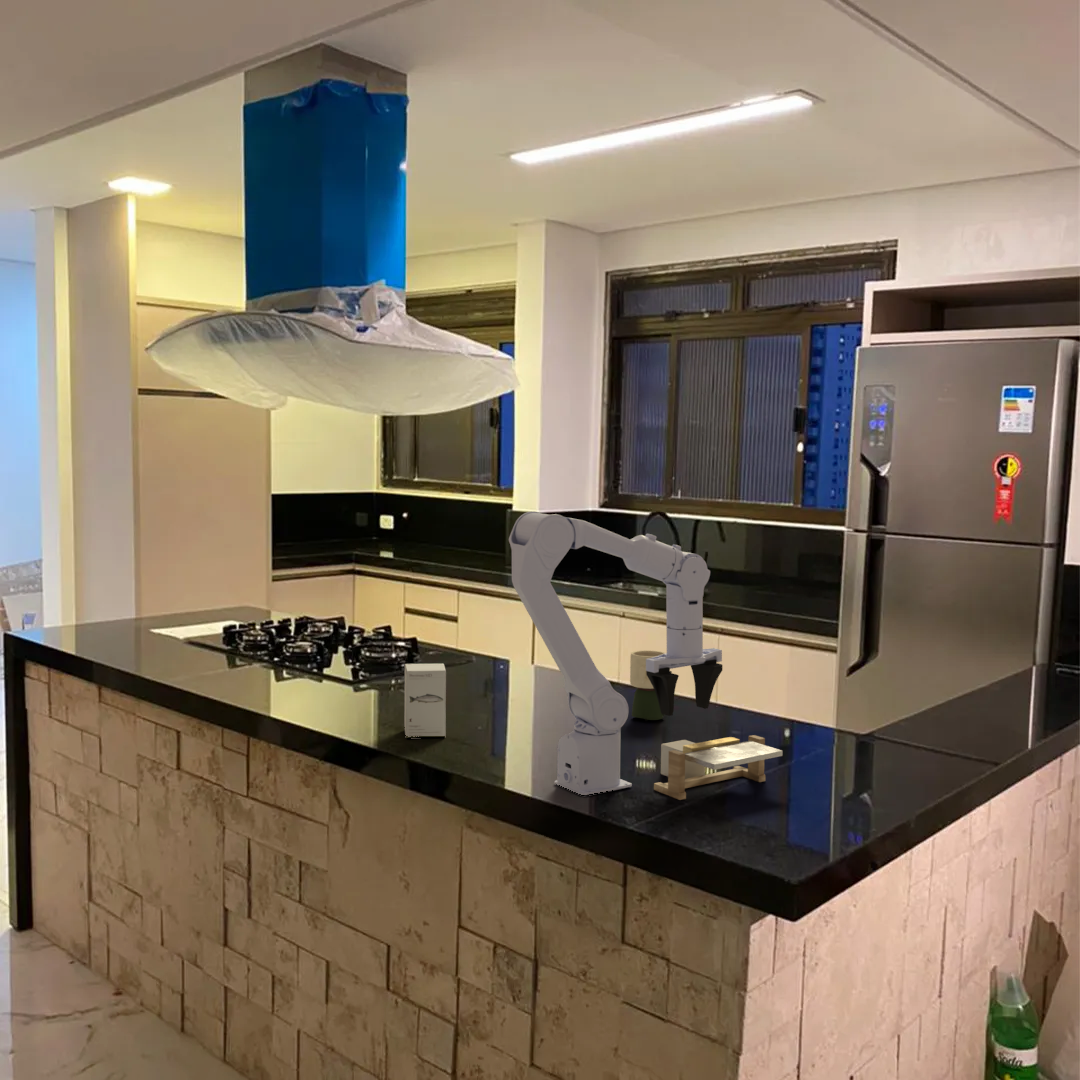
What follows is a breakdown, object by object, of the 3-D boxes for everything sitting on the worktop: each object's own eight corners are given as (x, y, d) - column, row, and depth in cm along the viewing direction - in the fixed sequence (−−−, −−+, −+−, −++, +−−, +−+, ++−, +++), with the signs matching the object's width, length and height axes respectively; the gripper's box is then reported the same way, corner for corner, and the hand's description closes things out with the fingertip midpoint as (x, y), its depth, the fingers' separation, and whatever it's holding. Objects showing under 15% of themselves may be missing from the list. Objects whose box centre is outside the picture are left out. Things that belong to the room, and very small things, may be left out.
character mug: (659, 727, 206) (660, 659, 205) (622, 724, 208) (623, 657, 207) (671, 714, 216) (673, 650, 215) (637, 711, 218) (638, 647, 217)
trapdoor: (713, 772, 158) (713, 762, 158) (671, 758, 166) (672, 747, 166) (783, 758, 166) (783, 747, 166) (740, 744, 174) (740, 734, 174)
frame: (679, 800, 162) (680, 755, 162) (653, 789, 167) (654, 746, 167) (765, 781, 172) (766, 738, 172) (738, 771, 177) (739, 730, 177)
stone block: (681, 782, 172) (681, 751, 171) (660, 774, 176) (661, 743, 175) (704, 777, 174) (705, 746, 174) (684, 769, 178) (684, 739, 178)
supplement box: (405, 740, 195) (405, 670, 194) (404, 729, 203) (404, 662, 202) (446, 738, 197) (446, 669, 196) (443, 728, 204) (443, 662, 203)
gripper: (666, 635, 166) (667, 722, 167) (735, 625, 174) (735, 708, 175) (637, 629, 172) (637, 713, 173) (704, 619, 180) (705, 700, 181)
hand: (684, 710), depth 174 cm, fingers open, 7 cm apart
